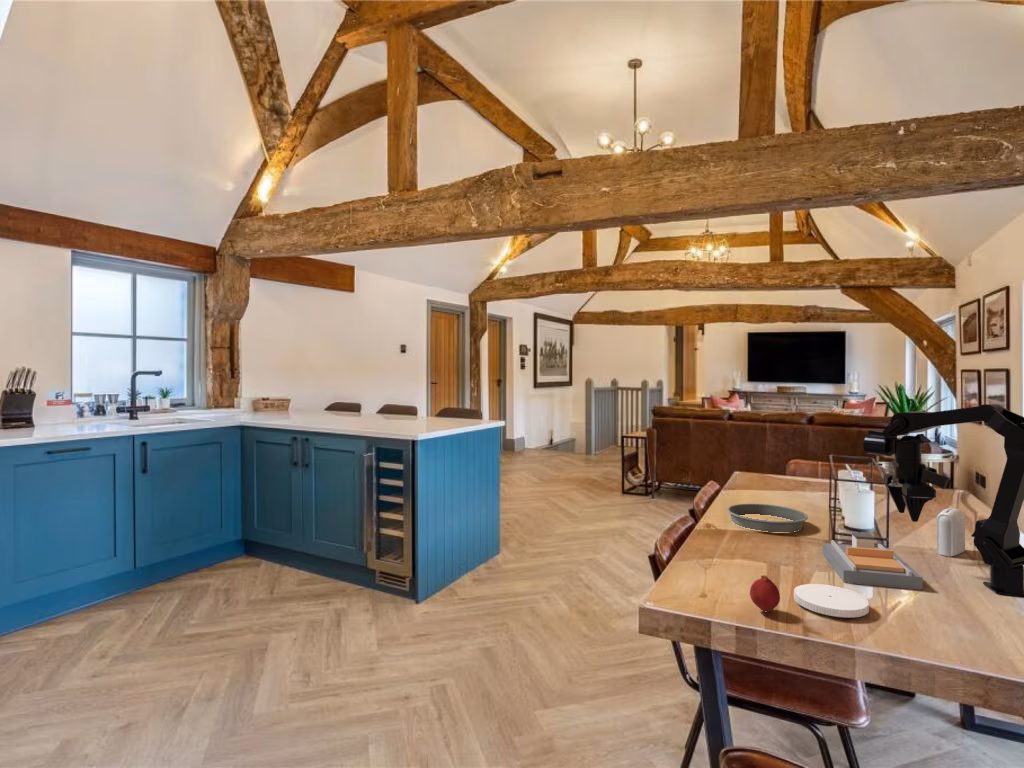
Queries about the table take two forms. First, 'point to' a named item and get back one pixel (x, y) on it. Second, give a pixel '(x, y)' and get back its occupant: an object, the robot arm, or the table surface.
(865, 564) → the shutter
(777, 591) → the onion
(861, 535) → the plug
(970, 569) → the table surface
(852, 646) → the table surface
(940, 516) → the photo printer
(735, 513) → the cake pan
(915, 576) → the socket plate
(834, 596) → the plastic lid
